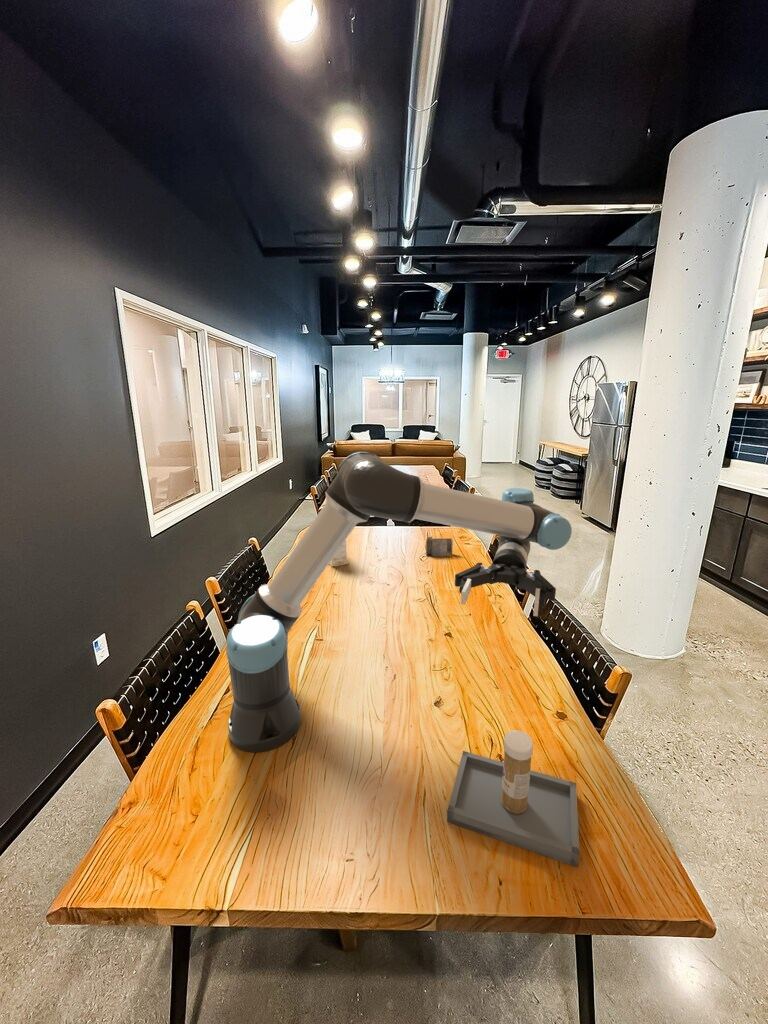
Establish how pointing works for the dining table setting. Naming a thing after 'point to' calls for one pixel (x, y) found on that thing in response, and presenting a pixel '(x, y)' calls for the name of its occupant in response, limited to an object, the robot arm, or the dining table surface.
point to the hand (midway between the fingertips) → (498, 603)
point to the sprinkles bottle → (516, 771)
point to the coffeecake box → (340, 556)
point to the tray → (536, 829)
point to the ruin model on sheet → (439, 546)
